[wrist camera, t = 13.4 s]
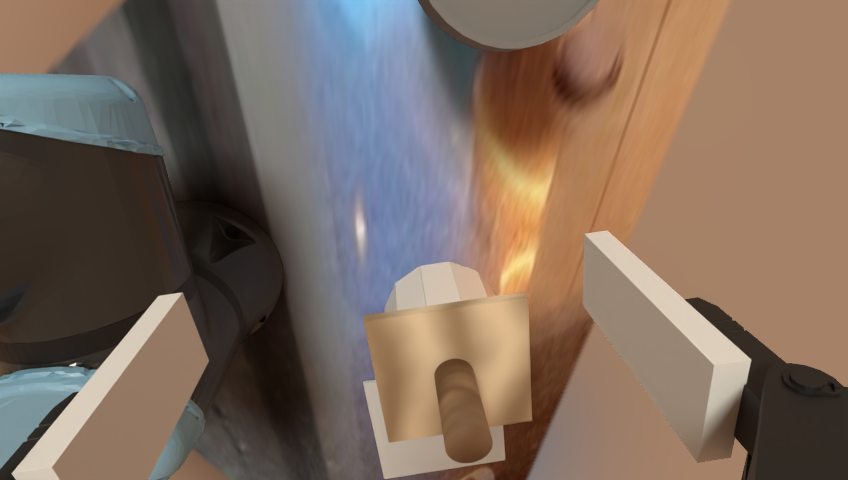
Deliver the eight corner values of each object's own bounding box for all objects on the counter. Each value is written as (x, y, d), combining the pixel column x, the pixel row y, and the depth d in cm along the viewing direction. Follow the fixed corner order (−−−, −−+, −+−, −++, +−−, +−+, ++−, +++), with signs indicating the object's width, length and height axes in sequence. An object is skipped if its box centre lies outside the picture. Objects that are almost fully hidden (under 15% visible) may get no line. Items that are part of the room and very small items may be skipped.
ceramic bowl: (394, 362, 55) (397, 425, 46) (378, 271, 50) (377, 323, 41) (497, 347, 55) (518, 406, 46) (490, 255, 50) (514, 303, 41)
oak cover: (388, 434, 46) (390, 521, 38) (364, 315, 41) (360, 387, 32) (529, 412, 47) (560, 494, 39) (524, 291, 41) (560, 357, 33)
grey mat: (384, 476, 62) (384, 479, 62) (363, 381, 55) (363, 383, 55) (504, 457, 62) (505, 460, 62) (498, 360, 56) (498, 363, 55)
